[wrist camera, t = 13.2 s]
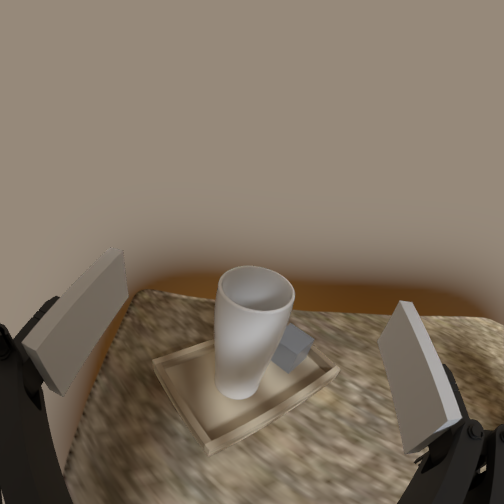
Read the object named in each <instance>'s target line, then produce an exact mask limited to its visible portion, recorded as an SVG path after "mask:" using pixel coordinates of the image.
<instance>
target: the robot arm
mask: <svg viewBox="0 0 504 504" xmlns="http://www.w3.org/2000/svg"><path fill="white" fill-rule="evenodd" d="M126 281H127V280H126V272H125V262H124V252H123V250H119V249H115V248H111V247H110V248H109V249H108V250H107V251H106V252H105V253H104V254H103V255H102V256H100V257H99V258H98V259H97V260H96V261H95V262H94V263H93V264H92V265H91V266H90V267H89V268H88V269H87V270H86V271H85V272H84V273H83V274H82V275H81V276H80V277H79V278H78V279H77V280H76V281H75V282H74V283H73V284H72V285H71V287H70V288H69V289H68V290H67V291H66V292H65V293H64V294H63V295H62V296H61V297H58V296H55V297H53V298H52V299H50V300H48V301H46V302H45V304H44V305H43V306H42V307H41V308H40V309H39V311H37V312H36V314H35V315H34V316H33V318H31V319H30V320H29V321H28V323H27V324H26V325H25V326H24V327H23V328H22V329H21V331H20V332H19V333H18V334H17V335H16V337H15V338H14V339H12V337H11V335H10V333H9V331H8V329H7V328H6V327H5V325H2V324H0V504H2V495H1V490H2V494H3V497H4V501H5V504H73V502H72V500H71V497H70V495H69V492H68V489H67V487H66V484H65V481H64V478H63V475H62V472H61V469H60V466H59V463H58V459H57V456H56V452H55V449H54V445H53V441H52V437H51V432H50V428H49V423H48V419H47V413H46V407H45V401H44V395H43V390H42V387H41V385H42V383H43V381H44V382H45V383H46V385H47V386H48V388H49V389H50V390H52V391H53V392H55V393H57V394H59V395H61V396H62V397H64V396H65V394H66V392H67V390H68V389H69V387H70V385H71V383H72V382H73V380H74V379H75V377H76V375H77V374H78V372H79V370H80V369H81V367H82V365H83V364H84V362H85V361H86V359H87V357H88V356H89V354H90V353H91V351H92V350H93V348H94V347H95V345H96V344H97V342H98V340H99V339H100V337H101V336H102V335H103V333H104V331H105V330H106V329H107V327H108V325H109V324H110V323H111V321H112V320H113V318H114V317H115V315H116V314H117V312H118V311H119V310H120V308H121V307H122V305H123V304H124V303H125V301H126V300H127V298H128V297H129V295H128V288H127V282H126ZM377 342H378V346H379V349H380V352H381V356H382V359H383V363H384V366H385V370H386V374H387V377H388V381H389V385H390V389H391V393H392V397H393V401H394V405H395V410H396V414H397V419H398V423H399V428H400V433H401V438H402V443H403V449H404V454H410V453H416V452H420V451H421V450H422V449H424V448H425V447H427V446H428V447H429V451H428V452H426V453H425V454H424V455H422V456H421V457H419V458H418V459H416V460H415V462H414V463H415V464H416V463H417V462H419V461H421V460H422V461H421V463H420V464H419V465H418V466H419V467H418V469H417V471H416V473H415V474H414V476H413V478H412V480H411V482H410V483H409V485H408V487H407V488H406V490H405V492H404V493H403V495H402V497H401V498H400V500H399V501H398V503H397V504H504V424H501V425H500V426H498V427H497V428H496V429H495V430H493V431H490V430H484V429H483V427H482V425H481V424H480V423H479V422H478V421H476V420H474V419H470V418H469V416H468V413H467V410H466V407H465V405H464V402H463V399H462V397H461V394H460V391H458V390H459V389H458V386H457V384H455V382H456V381H455V379H454V377H453V374H452V372H451V371H450V370H449V368H448V367H447V366H446V365H445V364H442V363H441V361H440V359H439V357H438V354H437V352H436V350H435V348H434V346H433V343H432V341H431V339H430V337H429V335H428V333H427V331H426V329H425V327H424V325H423V323H422V321H421V319H420V317H419V315H418V313H417V311H416V309H415V307H414V305H413V303H412V302H406V301H399V303H398V305H397V307H396V309H395V311H394V312H393V314H392V316H391V318H390V320H389V322H388V323H387V325H386V327H385V329H384V330H383V332H382V334H381V336H380V337H379V339H378V341H377ZM486 464H487V465H486ZM485 465H486V471H484V472H482V473H480V468H482V467H483V466H485Z"/></svg>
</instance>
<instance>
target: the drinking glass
mask: <svg viewBox="0 0 504 504" xmlns="http://www.w3.org/2000/svg"><path fill="white" fill-rule="evenodd" d="M294 299H295V291H294V288H293V286H292V285H291V283H290V282H289V281H288V280H287V279H286V278H285V277H283V276H282V275H280V274H279V273H276V272H275V271H272V270H270V269H267V268H263V267H258V266H240V267H235V268H232V269H230V270H228V271H226V272H225V273H224V274H223V275H222V276H221V278H220V280H219V283H218V289H217V295H216V301H215V310H214V349H215V377H214V381H215V385H216V388H217V389H218V391H219V392H220V393H221V394H222V395H224V396H225V397H227V398H230V399H234V400H242V399H246V398H249V397H251V396H252V395H253V394H254V393H255V392H256V391H257V389H258V387H259V384H260V381H261V379H262V377H263V375H264V373H265V371H266V369H267V367H268V365H269V363H270V361H271V359H272V357H273V355H274V353H275V351H276V349H277V347H278V345H279V343H280V341H281V339H282V337H283V334H284V332H285V329H286V327H287V324H288V321H289V318H290V314H291V311H292V307H293V303H294Z"/></svg>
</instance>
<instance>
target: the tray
mask: <svg viewBox="0 0 504 504" xmlns="http://www.w3.org/2000/svg"><path fill="white" fill-rule="evenodd" d="M289 324H290V323H288V324H287V326H288V325H289ZM152 363H153V369H154V372H155V374H156V376H157V378H158V380H159V381H160V383H161V385H162V387H163V389H164V390H165V392H166V394H167V395H168V397H169V399H170V400H171V402H172V404H173V405H174V407H175V409H176V410H177V412H178V413H179V415H180V417H181V418H182V420H183V421H184V423H185V424H186V426H187V427H188V429H189V430H190V432H191V433H192V435H193V436H194V438H195V439H196V441H197V442H198V444H199V445H200V446H201V448H202V449H203V451H204V452H205V453H206V455H207V456H208V457H209V456H211V455H213V454H215V453H217V452H219V451H221V450H223V449H225V448H227V447H229V446H231V445H233V444H235V443H237V442H239V441H240V440H242V439H244V438H246V437H248V436H249V435H251V434H253V433H255V432H256V431H258V430H260V429H262V428H263V427H265V426H267V425H268V424H270V423H272V422H273V421H275V420H276V419H278V418H280V417H281V416H283V415H284V414H286V413H287V412H289V411H290V410H292V409H293V408H295V407H296V406H298V405H299V404H301V403H302V402H304V401H305V400H307V399H308V398H310V397H311V396H312V395H314V394H315V393H317V392H318V391H319V390H321V389H322V388H323V387H325V386H326V385H327V384H329V383H330V382H331V381H333V380H334V379H335V377H336V376H337V374H338V373H339V371H340V368H339V367H338V366H337V365H335V364H334V363H333V362H332V361H331V360H330V359H329V358H328V357H326V356H325V355H324V354H323V353H322V352H321V351H320V350H318V349H317V348H316V347H315V346H314V345H313V344H312V346H311V348H310V350H309V352H308V354H307V357H306V358H305V359H304V360H303V361H302V362H301V363H300V364H299V365H298V366H297V367H296V368H295V369H294V370H292V371H291V372H290V373H289V374H288V373H287V372H285V371H284V370H283V369H281V368H280V367H279V366H277V365H276V364H275V363H273V362H272V361H270V363H269V365H268V367H267V369H266V371H265V373H264V375H263V377H262V379H261V381H260V384H259V387H258V389H257V391H256V392H255V393H254V394H253V395H252V396H251V397H249V398H246V399H242V400H234V399H230V398H227V397H225V396H224V395H222V394H221V393H220V392H219V391H218V389H217V388H216V385H215V381H214V377H215V349H214V339H211V340H208V341H206V342H203V343H200V344H197V345H194V346H192V347H189V348H186V349H183V350H180V351H177V352H174V353H171V354H168V355H165V356H162V357H159V358H156V359H153V360H152Z"/></svg>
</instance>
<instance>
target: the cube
mask: <svg viewBox="0 0 504 504" xmlns="http://www.w3.org/2000/svg"><path fill="white" fill-rule="evenodd" d="M313 342H314V338H312V337H311V336H309V335H308V334H306V333H305V332H303V331H302V330H300V329H299V328H297V327H296V326H294V325H293V324H292V323H290V324H289V325H288V326H287V327H286V329H285V332H284V334H283V337H282V339H281V341H280V343H279V345H278V347H277V349H276V351H275V353H274V355H273V357H272V359H271V361H272V362H273V363H275V364H276V365H277V366H279V367H280V368H281V369H283V370H284V371H285V372H287V373H288V374H289V373H290V372H291V371H292V370H294V369H295V368H296V367H297V366H298V365H299V364H300V363H301V362H302V361H303V360H304V359H305V358H306V357H307V354H308V352H309V350H310V348H311V346H312V344H313Z"/></svg>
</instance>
